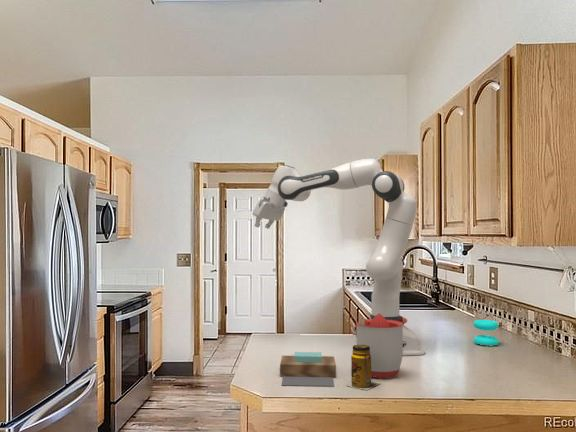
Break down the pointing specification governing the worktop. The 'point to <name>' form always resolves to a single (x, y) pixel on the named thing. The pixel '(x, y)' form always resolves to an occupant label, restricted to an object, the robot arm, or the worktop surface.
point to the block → (308, 357)
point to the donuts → (487, 326)
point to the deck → (307, 368)
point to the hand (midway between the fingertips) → (261, 227)
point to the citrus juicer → (382, 344)
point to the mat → (308, 381)
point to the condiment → (361, 368)
